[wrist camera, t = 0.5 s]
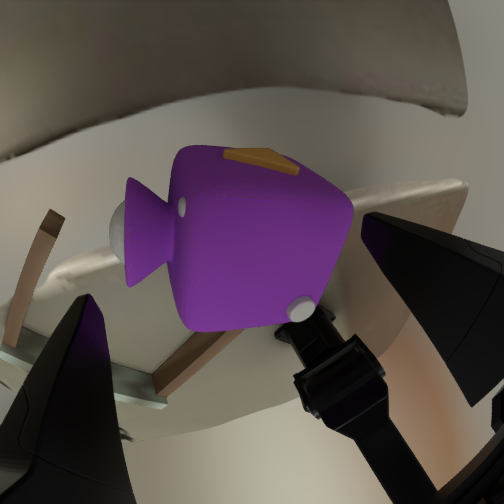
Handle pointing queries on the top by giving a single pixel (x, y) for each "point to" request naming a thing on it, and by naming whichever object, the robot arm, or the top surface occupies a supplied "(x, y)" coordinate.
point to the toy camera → (235, 236)
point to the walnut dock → (124, 379)
